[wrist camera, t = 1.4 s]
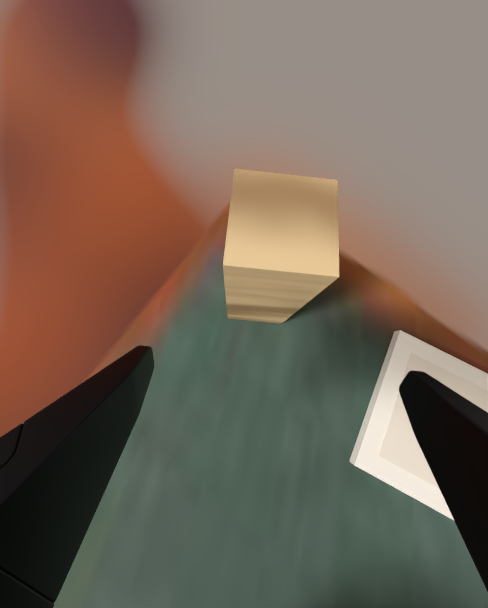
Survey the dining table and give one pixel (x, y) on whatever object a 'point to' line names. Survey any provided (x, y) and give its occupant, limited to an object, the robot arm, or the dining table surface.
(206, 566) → the dining table surface
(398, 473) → the tile
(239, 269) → the oak block
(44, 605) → the robot arm
